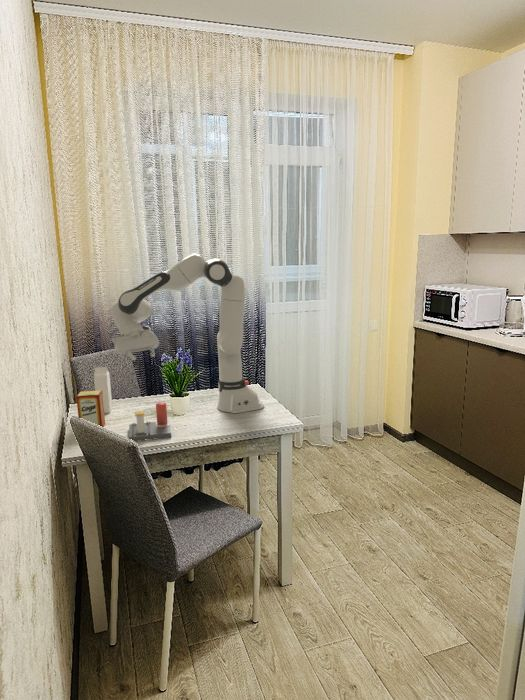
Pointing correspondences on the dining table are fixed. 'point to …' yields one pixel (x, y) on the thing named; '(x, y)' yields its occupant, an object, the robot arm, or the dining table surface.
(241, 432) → the dining table surface
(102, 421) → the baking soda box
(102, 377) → the milk
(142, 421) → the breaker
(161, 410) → the cap
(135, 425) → the panel
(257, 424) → the dining table surface
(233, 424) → the dining table surface
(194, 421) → the dining table surface
